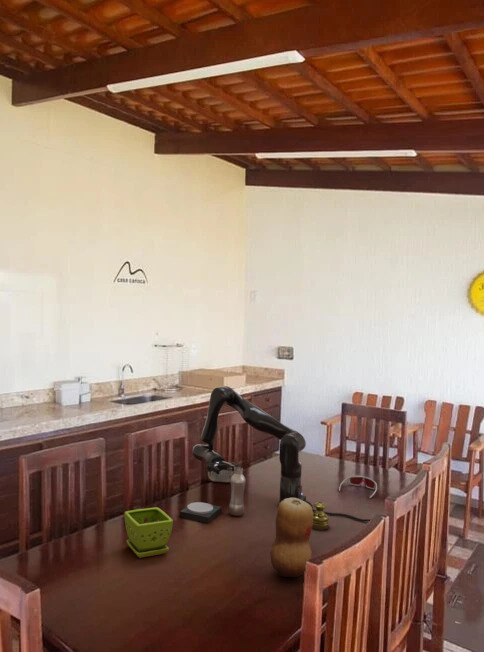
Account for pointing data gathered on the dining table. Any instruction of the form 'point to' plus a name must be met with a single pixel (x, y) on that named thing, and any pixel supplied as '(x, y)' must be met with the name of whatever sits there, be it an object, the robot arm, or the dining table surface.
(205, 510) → the kitchen scale
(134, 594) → the dining table surface
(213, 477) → the tin
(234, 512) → the plastic bottle
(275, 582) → the dining table surface
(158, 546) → the flower pot
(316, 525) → the golden figurine
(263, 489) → the dining table surface
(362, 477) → the sunglasses
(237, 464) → the robot arm
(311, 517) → the butternut squash
